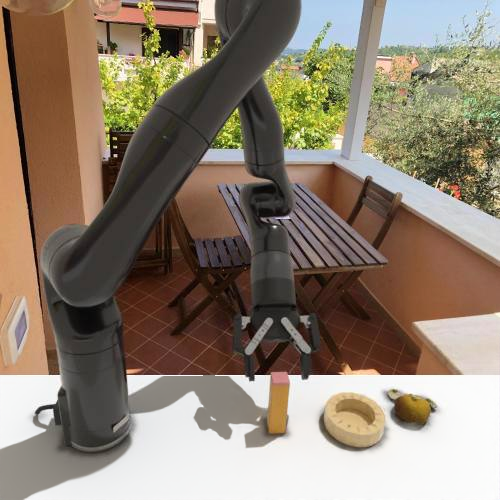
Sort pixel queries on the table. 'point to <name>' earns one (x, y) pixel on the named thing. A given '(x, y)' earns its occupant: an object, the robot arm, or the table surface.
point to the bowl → (354, 419)
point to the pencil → (278, 402)
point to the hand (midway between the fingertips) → (278, 380)
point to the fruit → (411, 407)
